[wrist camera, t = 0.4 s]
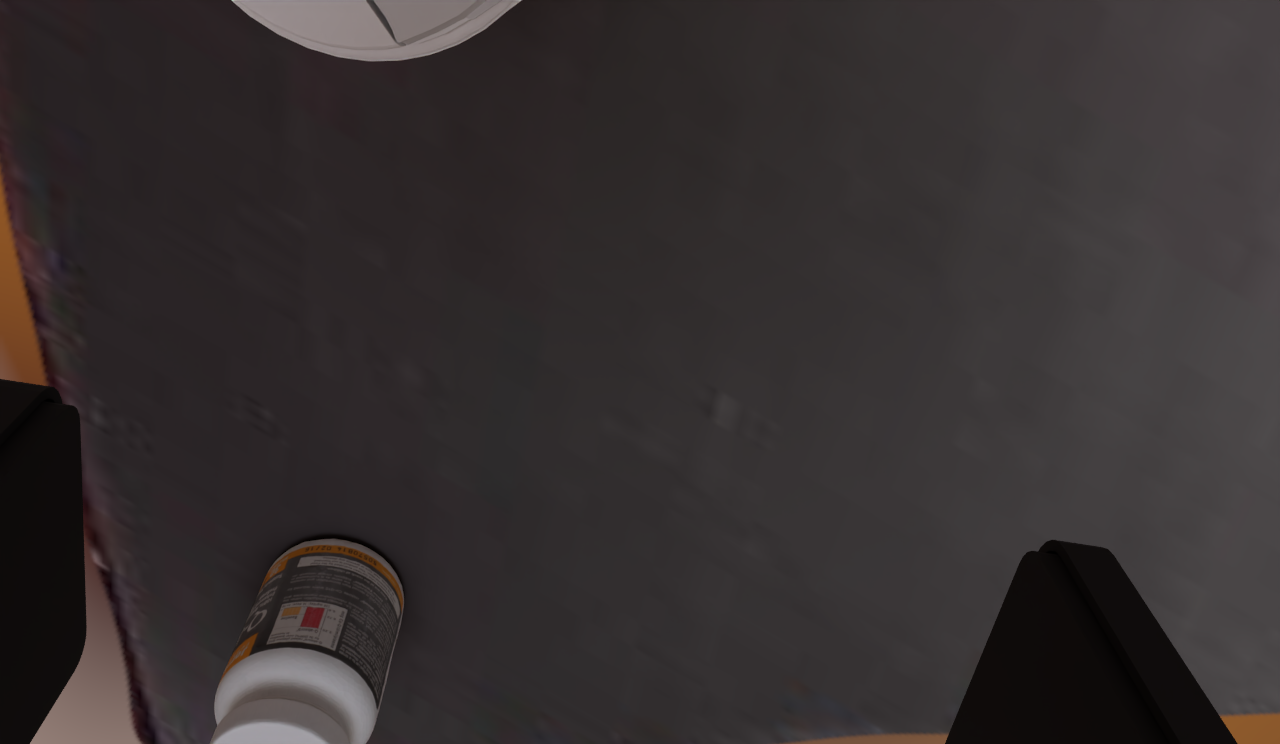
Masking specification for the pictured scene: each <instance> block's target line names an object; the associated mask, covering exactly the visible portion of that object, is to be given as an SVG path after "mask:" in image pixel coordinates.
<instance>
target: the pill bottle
mask: <svg viewBox="0 0 1280 744" xmlns="http://www.w3.org/2000/svg"><path fill="white" fill-rule="evenodd" d="M403 608H404V593H403V589H402V585H401V583H400V580H399V578H398V576H397V574H396V573H395V571H394V570H393V568H392V567H391V566H390V564H389V563H388V562H387V561H386V560H385V559H384V558H383V557H381V556H380V555H378V554H377V553H375V552H374V551H372V550H371V549H369V548H367V547H365V546H363V545H360V544H357V543H353V542H350V541H346V540H340V539H334V538H333V539H321V540H313V541H307V542H303V543H301V544H299V545H297V546H295V547H293V548H291V549H289V550H288V551H286V552H285V553H284V554H282V555H281V556H280V557H279V558H278V559H277V560H276V561H275V562H274V563H273V565H272V566H271V568H270V570H269V571H268V573H267V575H266V577H265V579H264V582H263V584H262V586H261V589H260V591H259V593H258V596H257V598H256V600H255V603H254V605H253V607H252V610H251V612H250V614H249V617H248V619H247V621H246V624H245V626H244V628H243V630H242V633H241V635H240V637H239V639H238V642H237V644H236V647H235V649H234V651H233V653H232V656H231V658H230V660H229V663H228V665H227V667H226V669H225V671H224V673H223V676H222V678H221V681H220V683H219V686H218V689H217V692H216V696H215V706H214V709H215V718H216V722H217V728H216V730H215V733H214V735H213V737H212V740H211V742H210V744H366V742H367V741H368V739H369V737H370V735H371V733H372V731H373V729H374V726H375V723H376V719H377V716H378V713H379V708H380V704H381V700H382V697H383V692H384V688H385V684H386V680H387V676H388V671H389V667H390V663H391V658H392V654H393V650H394V647H395V643H396V640H397V637H398V632H399V629H400V625H401V619H402V614H403Z"/></svg>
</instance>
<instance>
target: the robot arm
mask: <svg viewBox="0 0 1280 744" xmlns="http://www.w3.org/2000/svg"><path fill="white" fill-rule="evenodd" d="M84 565H85V564H84V532H83V500H82V468H81V436H80V418H79V413H78V410H77V408H76V407H74V406H72V405H65V404H62V399H61V396H60V394H59V392H58V391H57V390H56V389H55V388H54V387H49V386H42V385H36V384H29V383H23V382H16V381H10V380H2V379H0V744H30V742H31V741H32V739H33V737H34V736H35V734H36V733H37V731H38V729H39V728H40V726H41V724H42V723H43V721H44V720H45V718H46V716H47V715H48V713H49V711H50V710H51V708H52V707H53V705H54V703H55V702H56V700H57V699H58V697H59V695H60V694H61V692H62V690H63V689H64V687H65V686H66V684H67V682H68V681H69V679H70V677H71V676H72V674H73V673H74V671H75V669H76V667H77V665H78V663H79V661H80V658H81V655H82V652H83V648H84V645H85V639H86V597H85V566H84ZM945 744H1237V742H1236V741H1235V739H1234V738H1233V736H1232V734H1231V733H1230V731H1229V730H1228V728H1227V727H1226V725H1225V724H1224V722H1223V721H1222V719H1221V718H1220V716H1219V715H1218V713H1217V712H1216V710H1215V709H1214V707H1213V706H1212V704H1211V703H1210V701H1209V699H1208V698H1207V696H1206V695H1205V693H1204V692H1203V690H1202V689H1201V687H1200V686H1199V684H1198V683H1197V681H1196V680H1195V678H1194V677H1193V675H1192V674H1191V672H1190V671H1189V669H1188V667H1187V666H1186V664H1185V663H1184V661H1183V660H1182V658H1181V657H1180V655H1179V654H1178V652H1177V651H1176V649H1175V648H1174V646H1173V645H1172V643H1171V642H1170V640H1169V639H1168V637H1167V636H1166V634H1165V632H1164V631H1163V629H1162V628H1161V626H1160V625H1159V623H1158V622H1157V620H1156V619H1155V617H1154V616H1153V614H1152V613H1151V611H1150V610H1149V608H1148V607H1147V605H1146V604H1145V602H1144V600H1143V599H1142V597H1141V596H1140V594H1139V593H1138V591H1137V590H1136V588H1135V587H1134V585H1133V584H1132V582H1131V581H1130V579H1129V578H1128V576H1127V575H1126V573H1125V572H1124V570H1123V569H1122V567H1121V565H1120V564H1119V562H1118V561H1117V559H1116V558H1115V556H1114V555H1113V554H1112V553H1111V552H1110V551H1109V550H1108V549H1106V548H1102V547H1096V546H1090V545H1083V544H1077V543H1070V542H1064V541H1057V540H1050V541H1047V542H1046V543H1045V544H1044V545H1043V546H1042V547H1041V548H1040V549H1039V551H1038V552H1036V551H1030V552H1027V553H1026V554H1025V555H1024V556H1023V558H1022V560H1021V561H1020V563H1019V566H1018V568H1017V571H1016V573H1015V575H1014V578H1013V580H1012V583H1011V585H1010V587H1009V590H1008V592H1007V595H1006V597H1005V600H1004V602H1003V604H1002V607H1001V609H1000V612H999V614H998V617H997V619H996V621H995V624H994V626H993V629H992V631H991V633H990V636H989V638H988V641H987V643H986V646H985V648H984V650H983V653H982V655H981V658H980V660H979V663H978V665H977V667H976V670H975V672H974V675H973V677H972V679H971V682H970V684H969V687H968V689H967V692H966V694H965V696H964V699H963V701H962V704H961V706H960V708H959V711H958V713H957V716H956V718H955V721H954V723H953V725H952V728H951V730H950V733H949V735H948V738H947V740H946V743H945Z"/></svg>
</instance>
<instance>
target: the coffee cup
mask: <svg viewBox="0 0 1280 744" xmlns="http://www.w3.org/2000/svg"><path fill="white" fill-rule="evenodd" d="M232 1H233V2H234V3H235V4H236V5H237V6H239V7H240V8H241V9H242V10H243V11H244V12H246V13H247V14H248V15H249V16H250V17H252V18H253V19H255V20H257V21H258V22H260V23H261V24H263V25H264V26H266V27H267V28H269V29H270V30H272V31H274V32H275V33H277V34H278V35H280V36H283V37H285V38H287V39H289V40H291V41H294V42H296V43H298V44H300V45H302V46H304V47H307V48H309V49H313V50H316V51H320V52H323V53H326V54H330V55H333V56H337V57H342V58H349V59H357V60H364V61H400V60H406V59H411V58H416V57H421V56H427V55H431V54H434V53H437V52H439V51H442V50H445V49H447V48H450V47H453V46H456V45H458V44H460V43H462V42H464V41H465V40H467V39H469V38H471V37H472V36H474V35H476V34H478V33H479V32H481V31H483V30H485V29H486V28H487V27H488V26H490V25H491V24H492V23H493V22H494V21H496V20H497V19H498V18H499V17H501V16H502V15H503V14H504V13H505V12H507V11H508V10H509V9H511V8H512V7H513V6H515V5H516V4H517V3H519V2H520V1H522V0H232Z"/></svg>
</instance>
